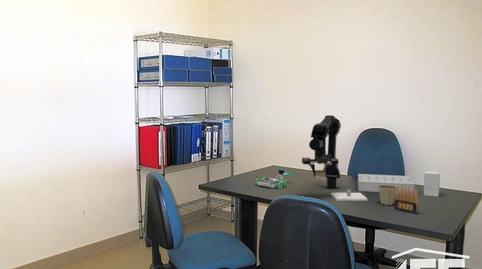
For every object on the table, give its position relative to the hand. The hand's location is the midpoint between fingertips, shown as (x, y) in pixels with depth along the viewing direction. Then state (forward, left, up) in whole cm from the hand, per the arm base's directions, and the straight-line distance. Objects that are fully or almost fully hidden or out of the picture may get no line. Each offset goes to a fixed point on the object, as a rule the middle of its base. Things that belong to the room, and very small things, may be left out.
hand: (319, 176), depth 224 cm
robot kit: (-31, -20, -12) cm, 39 cm away
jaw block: (0, 0, -1) cm, 1 cm away
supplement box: (-4, +63, -11) cm, 64 cm away
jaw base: (+2, +16, -11) cm, 19 cm away
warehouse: (-17, +42, -12) cm, 46 cm away
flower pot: (+14, +32, -11) cm, 36 cm away
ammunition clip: (+28, +36, -11) cm, 47 cm away
